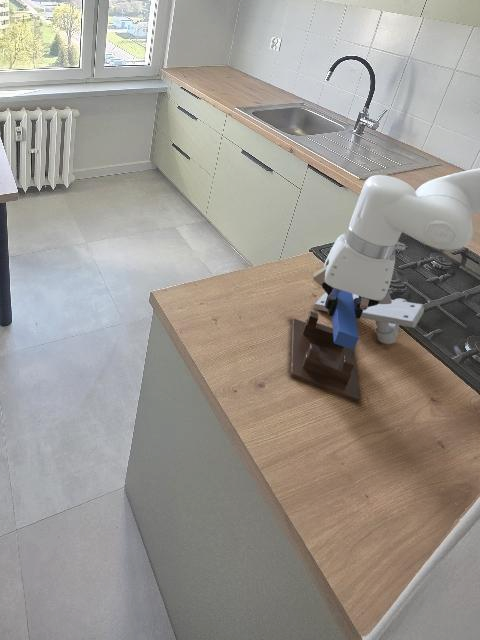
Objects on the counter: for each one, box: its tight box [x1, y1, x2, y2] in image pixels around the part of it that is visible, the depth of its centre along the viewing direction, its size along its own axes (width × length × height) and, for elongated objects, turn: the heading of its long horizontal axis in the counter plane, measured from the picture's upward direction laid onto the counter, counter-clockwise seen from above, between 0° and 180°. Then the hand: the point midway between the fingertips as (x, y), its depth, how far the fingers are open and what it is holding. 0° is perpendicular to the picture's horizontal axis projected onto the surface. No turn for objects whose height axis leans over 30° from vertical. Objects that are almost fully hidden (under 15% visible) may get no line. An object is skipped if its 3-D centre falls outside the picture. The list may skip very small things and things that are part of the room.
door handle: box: [314, 291, 425, 345], centre depth 97 cm, size 18×8×20 cm
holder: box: [290, 310, 361, 403], centre depth 87 cm, size 12×15×7 cm
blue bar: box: [331, 290, 360, 351], centre depth 82 cm, size 3×16×3 cm, turn 155°
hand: (340, 314), depth 83 cm, fingers closed on blue bar, 3 cm apart
